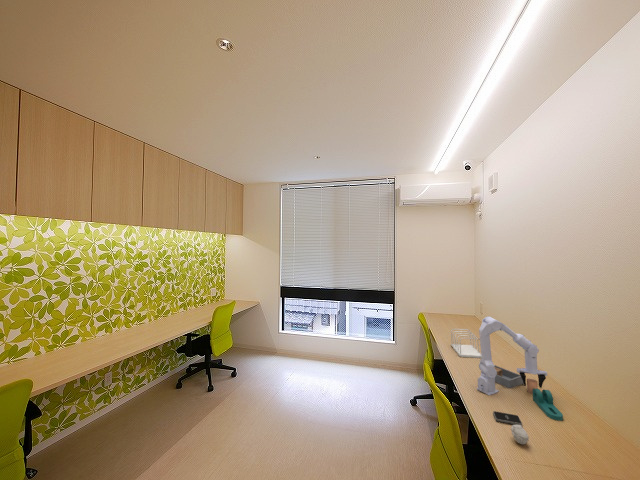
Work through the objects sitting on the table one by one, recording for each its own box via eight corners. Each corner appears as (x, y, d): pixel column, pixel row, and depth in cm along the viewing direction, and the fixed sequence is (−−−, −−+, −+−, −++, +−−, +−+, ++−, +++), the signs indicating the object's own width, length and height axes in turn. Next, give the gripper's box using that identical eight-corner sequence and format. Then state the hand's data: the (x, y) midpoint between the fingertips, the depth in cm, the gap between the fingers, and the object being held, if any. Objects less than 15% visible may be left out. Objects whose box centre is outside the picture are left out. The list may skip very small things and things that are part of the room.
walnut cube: (497, 379, 173) (497, 371, 174) (490, 376, 178) (489, 368, 178) (502, 377, 175) (502, 369, 176) (494, 374, 180) (494, 366, 180)
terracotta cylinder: (535, 395, 155) (534, 383, 155) (525, 391, 159) (524, 379, 160) (539, 393, 157) (539, 381, 157) (530, 389, 161) (529, 377, 162)
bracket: (532, 400, 150) (532, 386, 151) (547, 401, 148) (546, 387, 149) (549, 419, 133) (548, 404, 134) (566, 422, 131) (565, 406, 132)
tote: (510, 388, 162) (509, 380, 163) (482, 376, 178) (482, 369, 179) (523, 383, 168) (522, 375, 168) (495, 372, 184) (494, 365, 184)
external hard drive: (493, 414, 139) (492, 410, 139) (518, 419, 135) (518, 415, 135) (496, 422, 132) (496, 418, 132) (522, 428, 128) (522, 423, 128)
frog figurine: (520, 436, 122) (519, 421, 122) (533, 448, 115) (532, 431, 115) (507, 437, 122) (507, 421, 122) (519, 448, 115) (519, 432, 115)
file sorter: (483, 358, 207) (482, 338, 208) (459, 357, 211) (459, 337, 211) (471, 346, 232) (470, 329, 233) (450, 346, 235) (449, 328, 236)
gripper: (518, 364, 158) (520, 387, 157) (549, 367, 153) (550, 391, 152) (515, 359, 164) (516, 381, 164) (543, 362, 159) (545, 385, 159)
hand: (532, 385), depth 158 cm, fingers open, 7 cm apart
